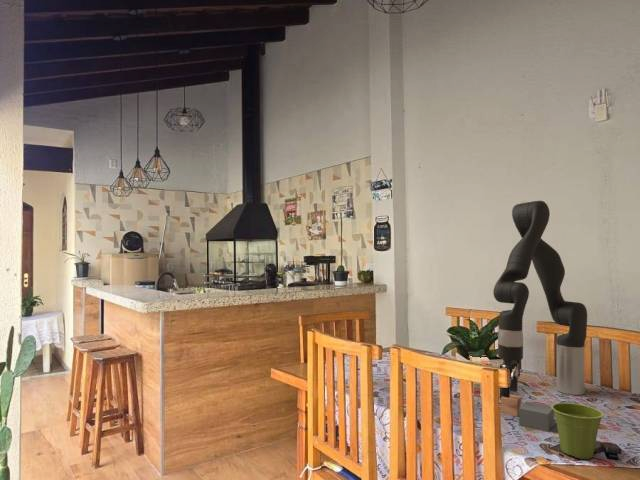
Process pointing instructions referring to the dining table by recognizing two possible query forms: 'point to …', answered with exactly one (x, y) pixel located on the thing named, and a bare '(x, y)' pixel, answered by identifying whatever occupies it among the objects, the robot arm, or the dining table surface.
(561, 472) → the dining table surface
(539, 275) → the robot arm
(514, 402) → the terracotta cube
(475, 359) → the stack of blocks
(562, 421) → the plant pot
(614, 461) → the dining table surface
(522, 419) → the grey base block
